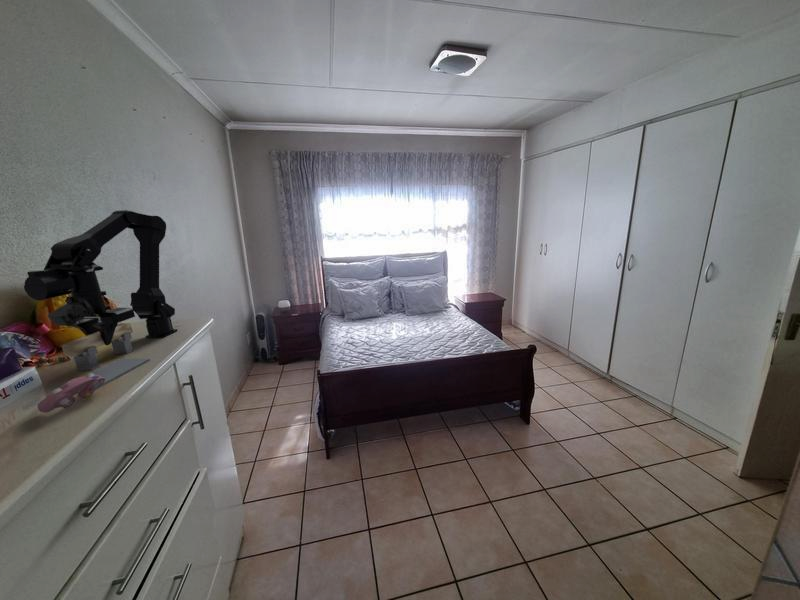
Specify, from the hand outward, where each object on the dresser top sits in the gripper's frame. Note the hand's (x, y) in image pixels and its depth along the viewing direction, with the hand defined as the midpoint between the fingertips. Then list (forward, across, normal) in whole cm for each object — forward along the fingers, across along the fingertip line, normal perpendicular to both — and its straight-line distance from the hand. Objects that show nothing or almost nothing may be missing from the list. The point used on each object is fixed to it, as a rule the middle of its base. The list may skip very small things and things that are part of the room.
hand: (102, 344), depth 86 cm
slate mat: (+5, +8, -8) cm, 13 cm away
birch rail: (0, 0, 0) cm, 0 cm away
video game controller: (+4, +14, -20) cm, 25 cm away
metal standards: (+5, 0, 0) cm, 5 cm away
